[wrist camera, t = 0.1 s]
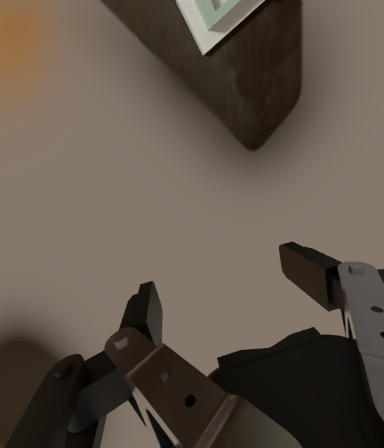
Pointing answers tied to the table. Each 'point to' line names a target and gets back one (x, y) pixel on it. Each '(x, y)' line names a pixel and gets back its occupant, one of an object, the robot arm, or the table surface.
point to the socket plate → (214, 18)
